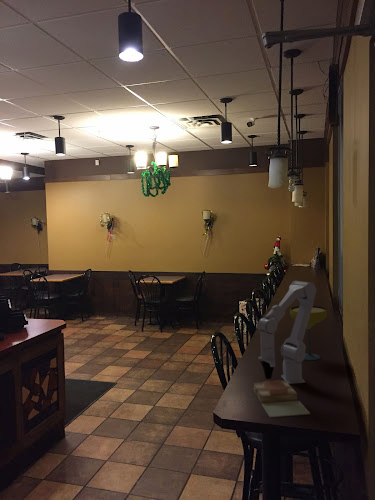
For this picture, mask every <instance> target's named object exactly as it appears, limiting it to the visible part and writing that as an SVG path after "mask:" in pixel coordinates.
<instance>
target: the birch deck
mask: <svg viewBox="0 0 375 500" xmlns="http://www.w3.org/2000/svg"><path fill="white" fill-rule="evenodd" d="M281 381H282V383H283V384H284V385H285V386H286V387H287V388H288V393H285V394H273V395H270V394H269V392H268V391H267V390H266V388H265V387H264V381H261V382H253V383H252V391H253V390H254V391H253V392H254V394H255V395H256V396H257V398H258V400H259V402H260V404H264V403H276V402H288V401H298V393H297V391H295V390H294V388H293V387H292V386H291V384H288V383H287V382H286V381H285V380H281Z"/></svg>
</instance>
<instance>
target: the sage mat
mask: <svg viewBox="0 0 375 500" xmlns="http://www.w3.org/2000/svg"><path fill="white" fill-rule="evenodd" d="M260 404H261V406H262V408H263V409H264V410H265V412H266V414H267V415H268V417H269V418H270V419H271V418H280V417H281V418H282V417H283V418H284V417H293V416H304V415H311V412H310V411H309V410H308V409H307V408H306V407H305V405H304V404H303V402H301V401H300V400H297V401H288V402H276V403H264V404H262V403H260Z"/></svg>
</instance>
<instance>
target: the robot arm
mask: <svg viewBox="0 0 375 500" xmlns="http://www.w3.org/2000/svg"><path fill="white" fill-rule="evenodd" d="M316 293H317V288H316V286H315V283H313V282H311V281H310V282H307V281H299V280H293V281H292V282H291V284H290V285H289V287H288V291H287V292H286V294H285V295H284V297H282V300H281V301H280V302H279V304H274V305H272V307H271V309H270V310H269V311H268V313H267V314H266V315H265V316H264V317H262V318H260V319H259V320H258V322H257V324H256V328H257V329H258V331H259V332H258V334H259V336H260V337H259V338H260V339H259V340H260V356H258V357H257V358H258V360H259V361H260V364H261V367H262V369H263V373H264V374H263V375H264V376H265V379H266V380H271V379H272V377H273V372H274V369H275V368H276V365H277V364H276V355H275V332H276V331H277V329H278V326H279V322H280V321H281V320H282V319H283V317H285V315H286V310H287V308H288V307H290V306H291V305H292V303H294V301H295V300H298V301H299V305H298V306H299V309H298V313H297V316H296V319H295V320H294V322H293V327H292V329H291V333H290V336H289V337H288V338H285V340H284V342H283V344H282V345H281V347H280V355H281V356H282V357H283V361H282V374H281V375H280V377H281V378H282V379H283V381H286V382H287V383H288V384H289V385H291V384H303V383H306V381H305V379H304V378H303V372H302V371H303V370H302V369H303V365H302V362H304V361H305V360H304V358H305V353H306V348H307V346H306V344H305V342H304V337H305V333H306V330H307V328H306V327H307V324H308V321H309V317H310V314H311V310H312V307H313V306H314V302H315V301H314V300H315V297H316Z"/></svg>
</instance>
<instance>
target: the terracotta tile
mask: <svg viewBox="0 0 375 500" xmlns="http://www.w3.org/2000/svg"><path fill="white" fill-rule="evenodd" d="M282 381H283V380H281V379H276V380H274V379H273V380H263V382H264V387H265V388H266V390H267V391H268V392H269V394H270V395H273V394H285V393H288V388H287V387H286V386H285V385H284V384H283V383H282Z"/></svg>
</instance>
